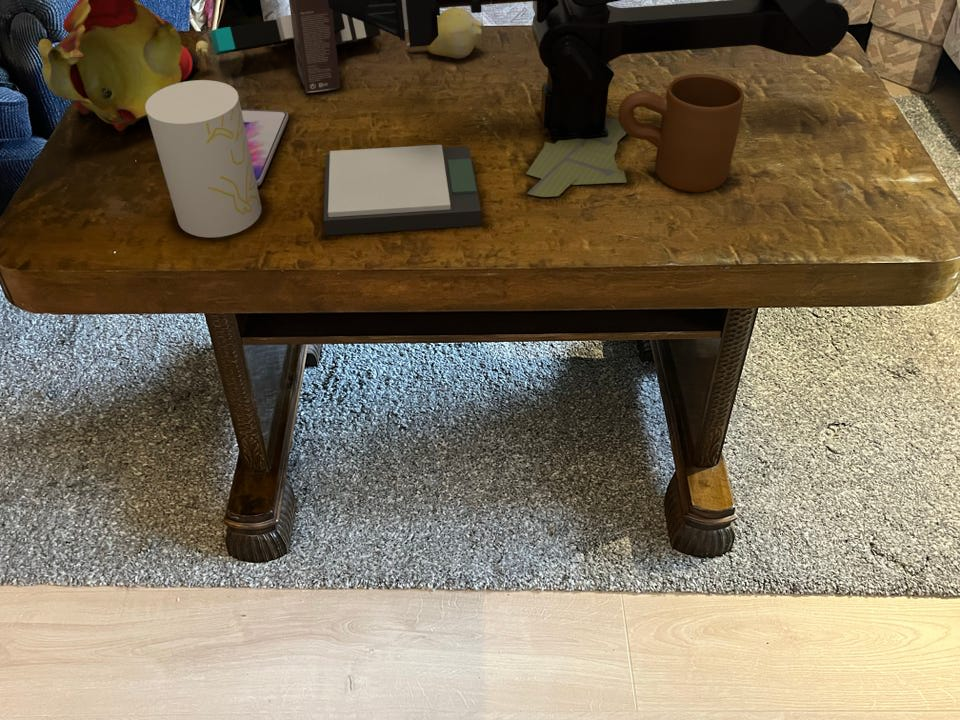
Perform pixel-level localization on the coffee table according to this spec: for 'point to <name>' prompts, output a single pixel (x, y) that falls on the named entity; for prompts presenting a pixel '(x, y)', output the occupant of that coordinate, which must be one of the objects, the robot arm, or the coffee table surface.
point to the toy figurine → (191, 58)
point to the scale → (399, 189)
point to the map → (578, 162)
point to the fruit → (456, 33)
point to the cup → (205, 157)
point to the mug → (689, 129)
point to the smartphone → (263, 137)
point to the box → (315, 44)
